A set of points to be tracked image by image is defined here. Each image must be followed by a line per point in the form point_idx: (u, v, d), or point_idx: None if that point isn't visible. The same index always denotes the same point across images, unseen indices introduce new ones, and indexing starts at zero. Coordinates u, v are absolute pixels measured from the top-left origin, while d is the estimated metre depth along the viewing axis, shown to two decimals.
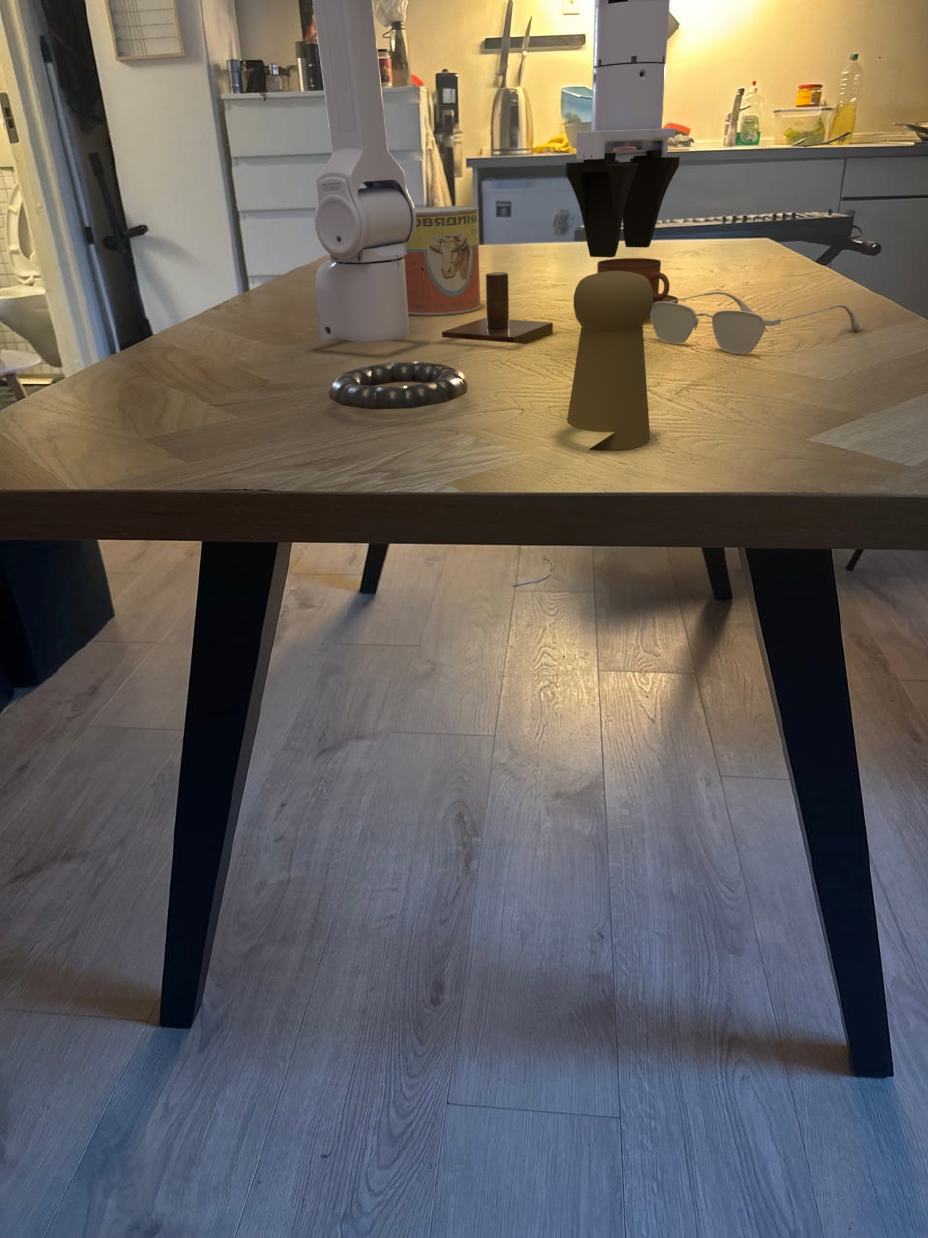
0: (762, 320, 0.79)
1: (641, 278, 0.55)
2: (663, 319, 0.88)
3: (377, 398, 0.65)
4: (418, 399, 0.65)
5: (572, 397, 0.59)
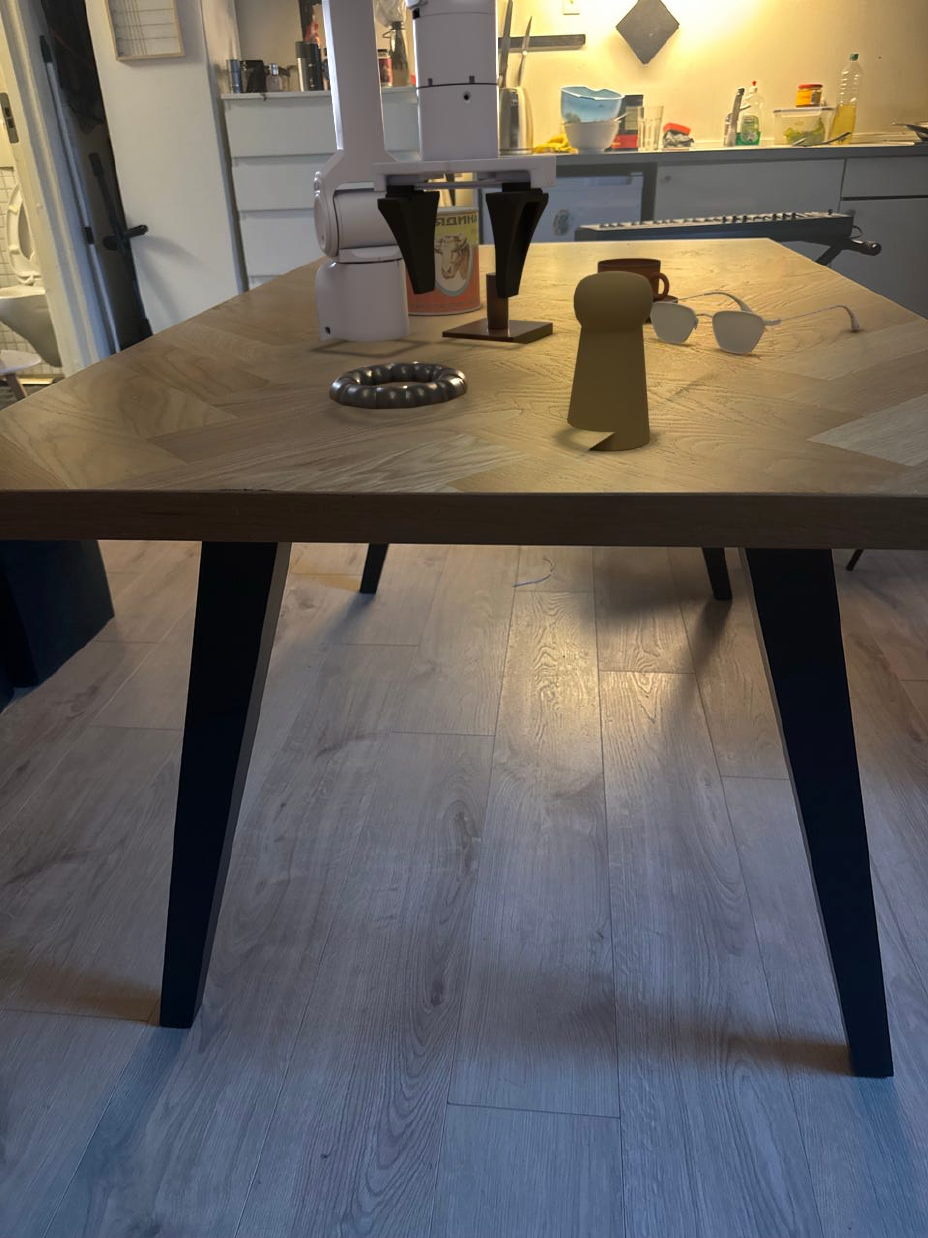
0: (762, 320, 0.79)
1: (641, 278, 0.55)
2: (663, 319, 0.88)
3: (377, 398, 0.65)
4: (418, 399, 0.65)
5: (572, 397, 0.59)
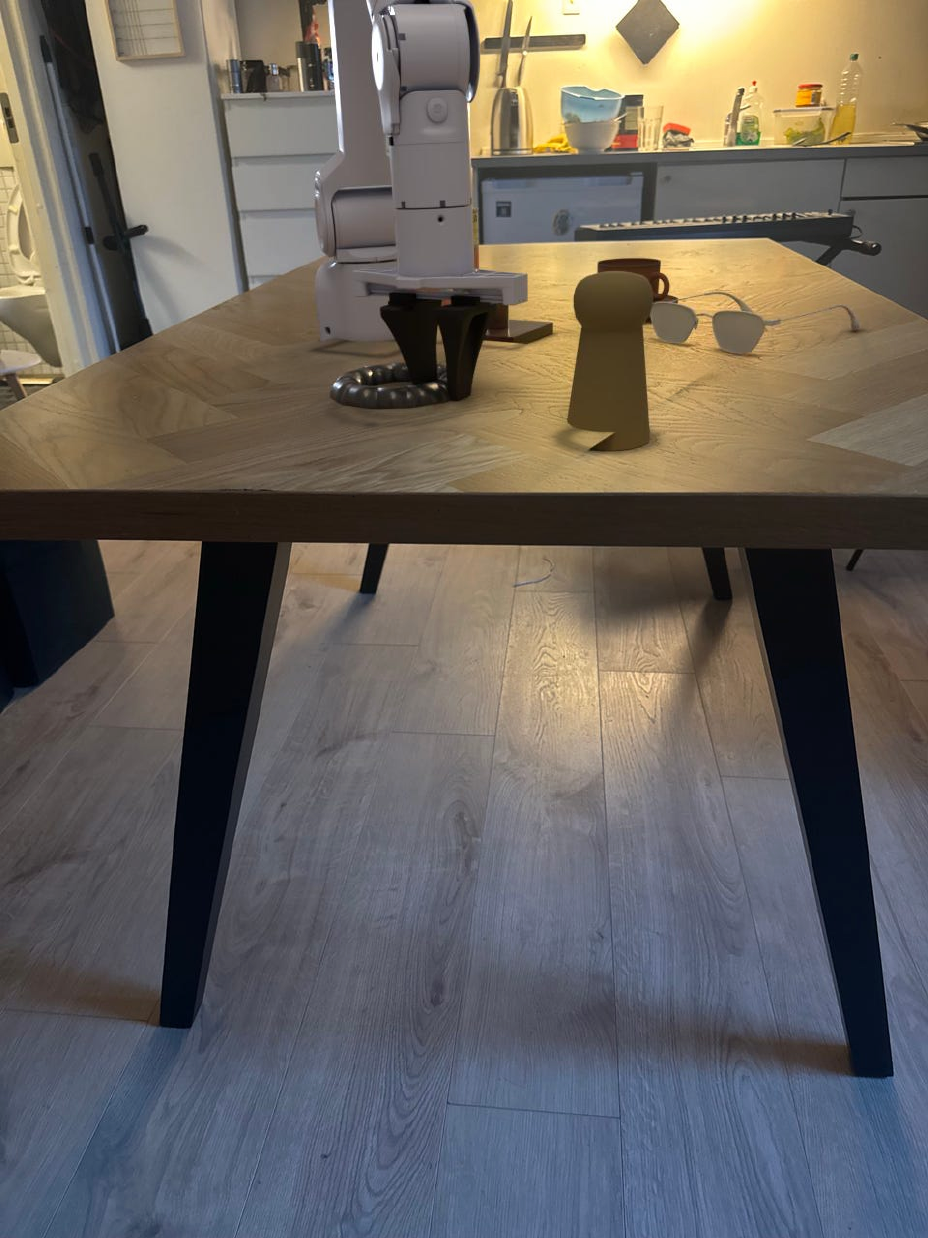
0: (762, 320, 0.79)
1: (641, 278, 0.55)
2: (663, 319, 0.88)
3: (378, 398, 0.65)
4: (419, 399, 0.65)
5: (572, 397, 0.59)
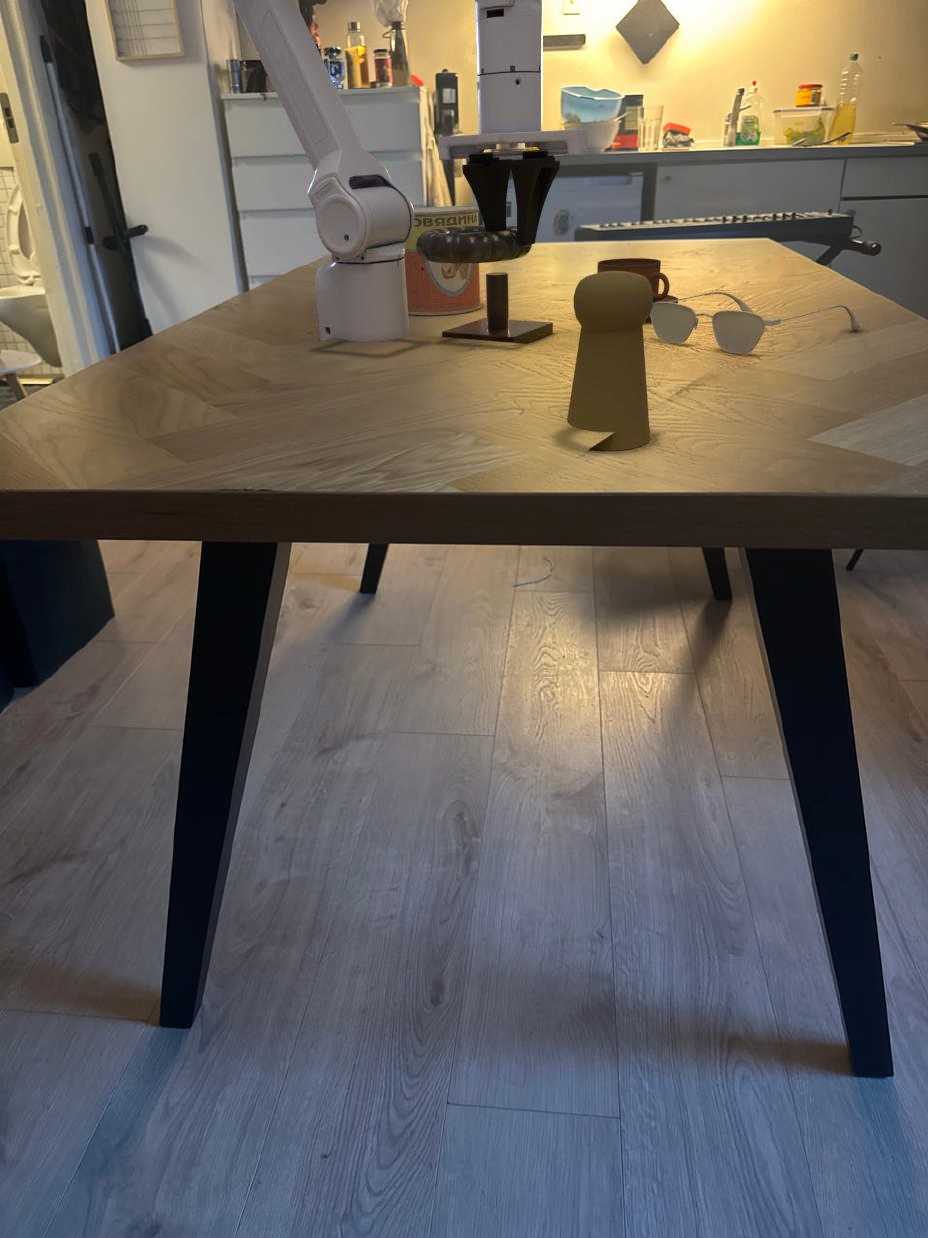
0: (762, 320, 0.79)
1: (641, 278, 0.55)
2: (663, 318, 0.88)
3: (460, 241, 0.78)
4: (494, 242, 0.78)
5: (572, 397, 0.59)
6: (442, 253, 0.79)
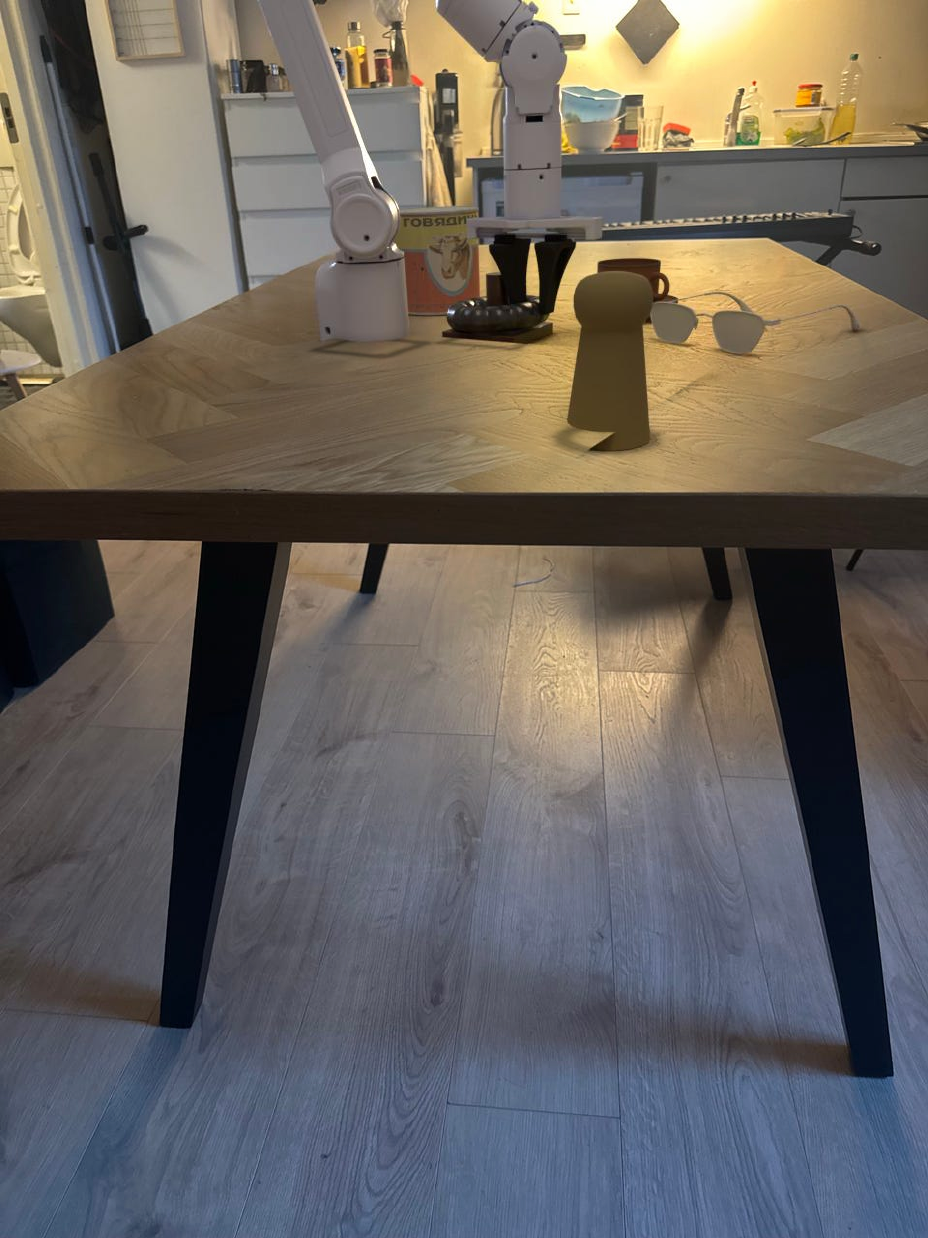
0: (762, 320, 0.79)
1: (641, 278, 0.55)
2: (663, 319, 0.88)
3: (489, 313, 0.88)
4: (519, 313, 0.88)
5: (572, 397, 0.59)
6: (472, 324, 0.89)
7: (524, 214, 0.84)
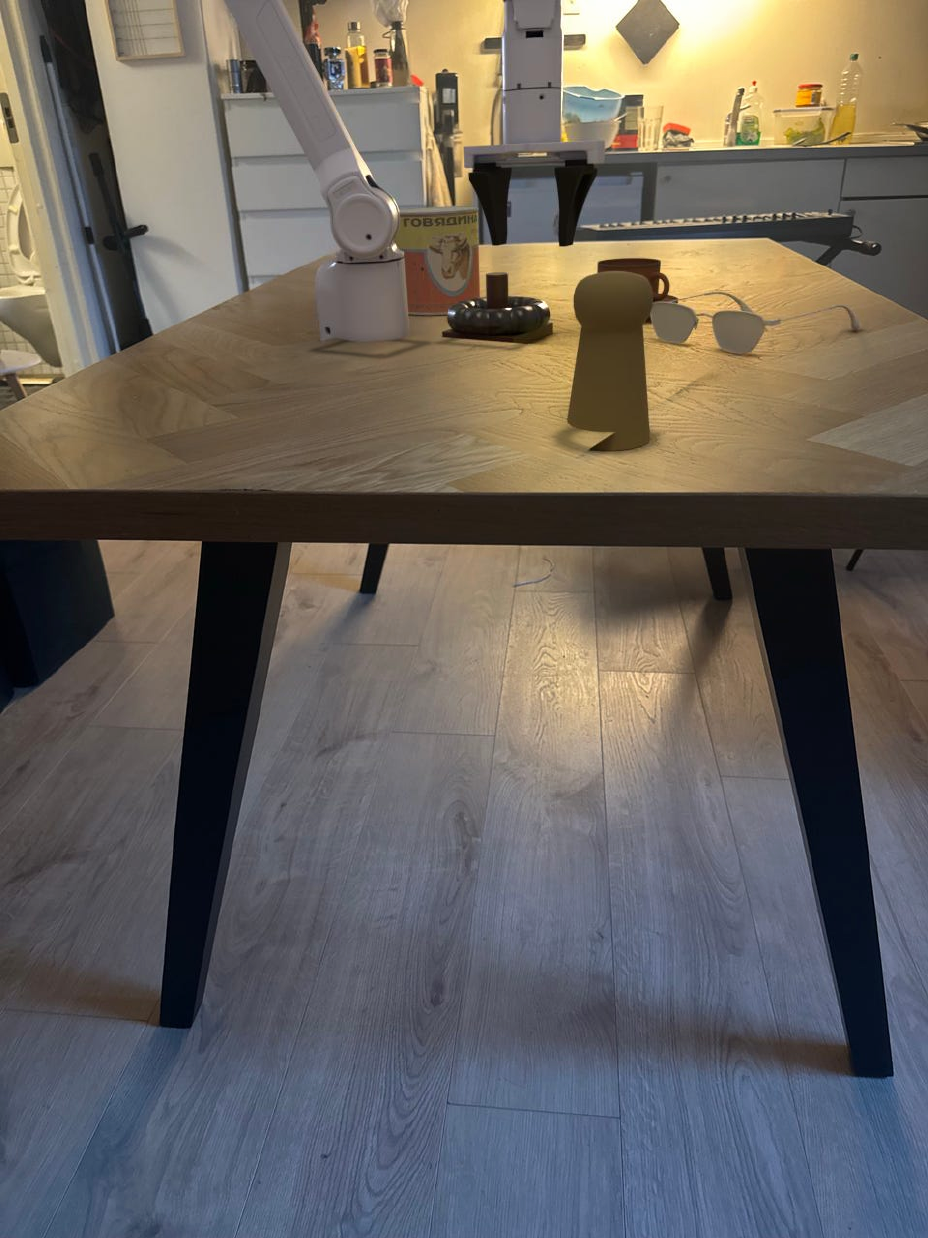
0: (762, 320, 0.79)
1: (641, 278, 0.55)
2: (663, 318, 0.88)
3: (489, 316, 0.88)
4: (519, 317, 0.88)
5: (572, 397, 0.59)
6: (473, 326, 0.89)
7: (524, 137, 0.81)
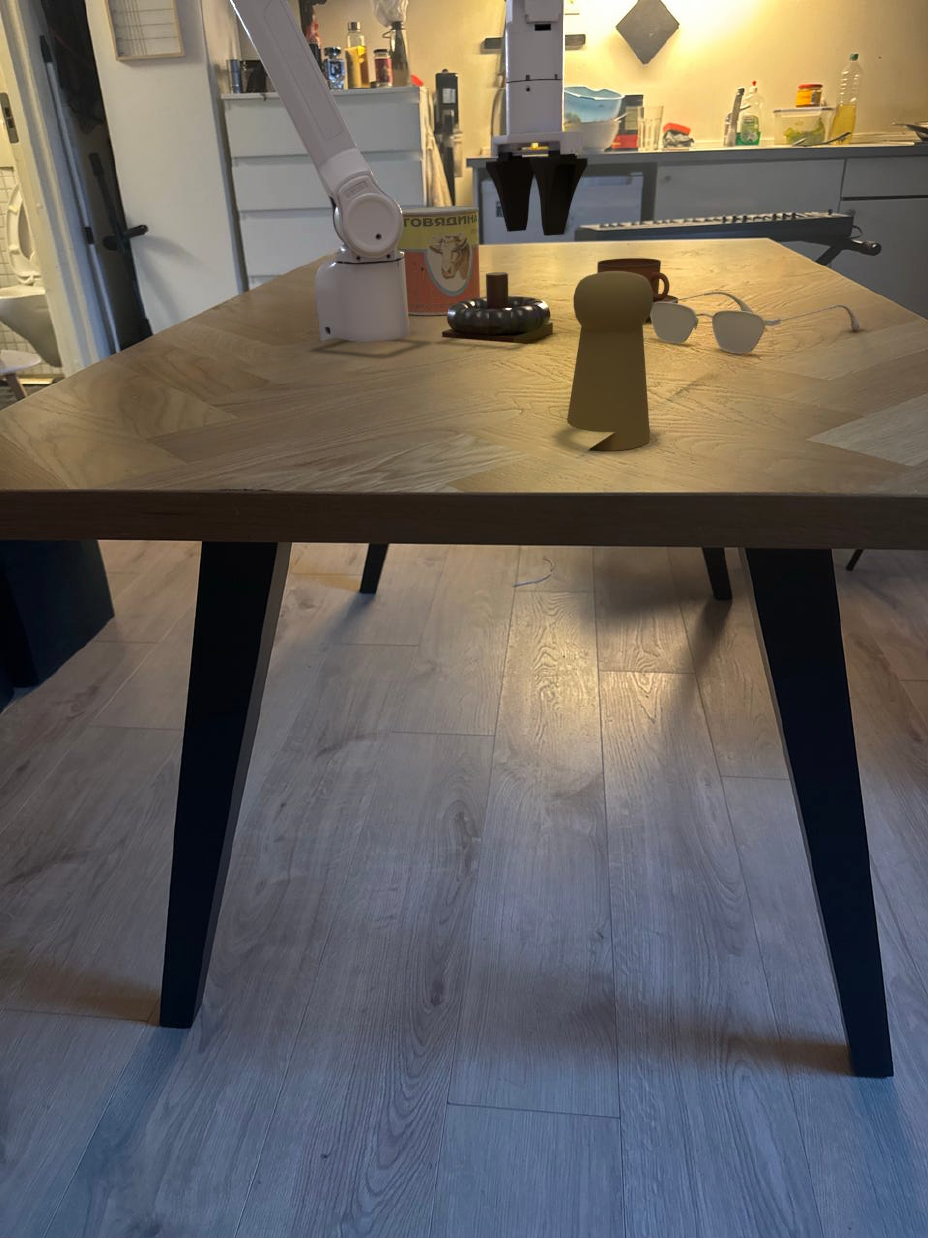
0: (762, 319, 0.79)
1: (641, 278, 0.55)
2: (663, 319, 0.88)
3: (489, 316, 0.88)
4: (519, 317, 0.88)
5: (572, 397, 0.59)
6: (473, 326, 0.89)
7: None
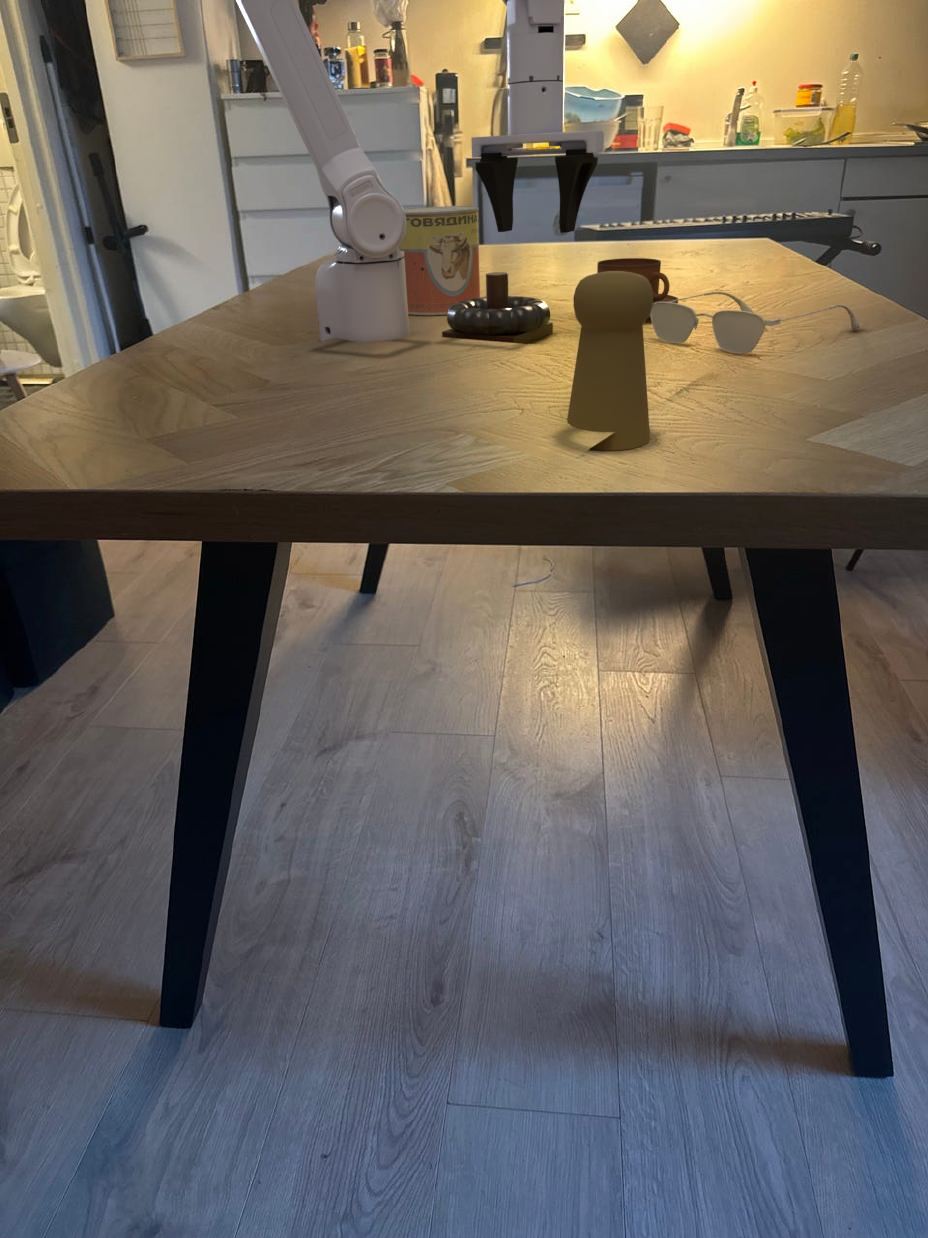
0: (762, 320, 0.79)
1: (641, 278, 0.55)
2: (663, 319, 0.88)
3: (489, 316, 0.88)
4: (519, 317, 0.88)
5: (572, 397, 0.59)
6: (473, 326, 0.89)
7: None
